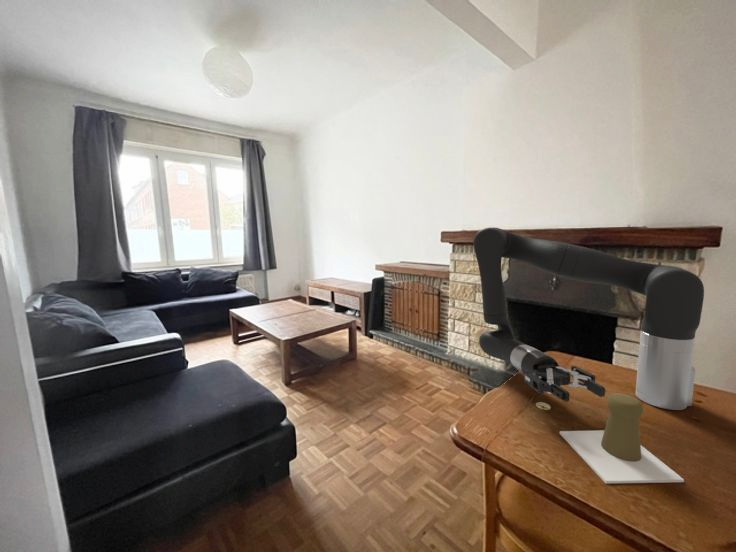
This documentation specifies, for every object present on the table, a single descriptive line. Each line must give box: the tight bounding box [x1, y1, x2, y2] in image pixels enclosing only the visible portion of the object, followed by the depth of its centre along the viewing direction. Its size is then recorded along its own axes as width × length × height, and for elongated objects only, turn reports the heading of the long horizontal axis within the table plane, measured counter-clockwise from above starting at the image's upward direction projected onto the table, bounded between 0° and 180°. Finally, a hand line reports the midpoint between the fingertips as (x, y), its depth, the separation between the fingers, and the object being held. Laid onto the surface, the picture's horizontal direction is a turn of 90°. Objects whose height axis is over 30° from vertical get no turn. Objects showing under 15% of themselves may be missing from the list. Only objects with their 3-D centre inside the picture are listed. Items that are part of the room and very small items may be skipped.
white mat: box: [559, 429, 685, 484], centre depth 58 cm, size 13×13×1 cm
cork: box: [601, 392, 644, 462], centre depth 57 cm, size 6×6×11 cm
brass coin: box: [535, 401, 552, 411], centre depth 74 cm, size 3×3×1 cm
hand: (586, 395), depth 63 cm, fingers open, 8 cm apart
